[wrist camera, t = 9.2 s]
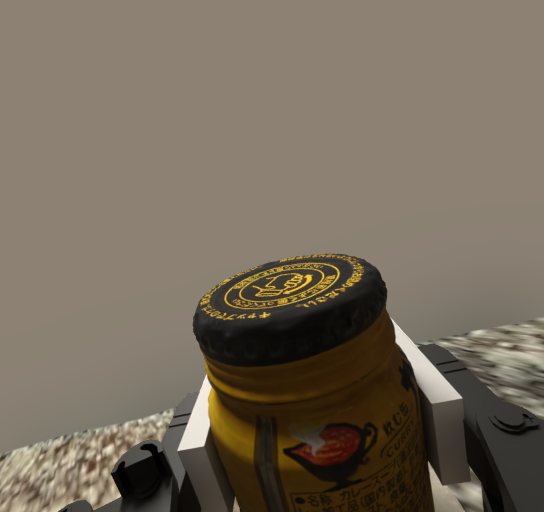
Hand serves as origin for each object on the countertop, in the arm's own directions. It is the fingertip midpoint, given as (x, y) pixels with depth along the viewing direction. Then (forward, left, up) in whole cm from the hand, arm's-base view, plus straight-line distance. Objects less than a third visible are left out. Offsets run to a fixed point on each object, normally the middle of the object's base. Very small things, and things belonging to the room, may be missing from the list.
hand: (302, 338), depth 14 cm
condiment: (+2, +5, -7) cm, 9 cm away
